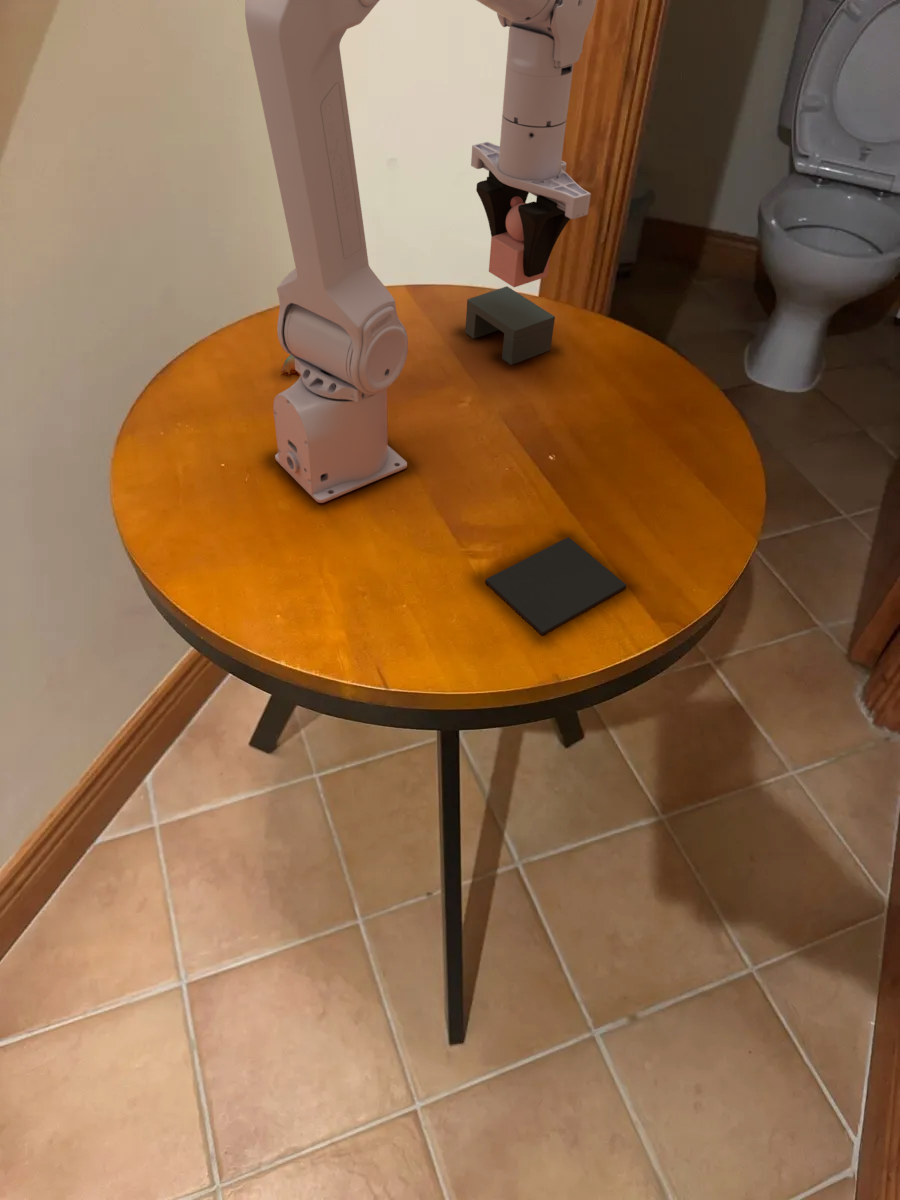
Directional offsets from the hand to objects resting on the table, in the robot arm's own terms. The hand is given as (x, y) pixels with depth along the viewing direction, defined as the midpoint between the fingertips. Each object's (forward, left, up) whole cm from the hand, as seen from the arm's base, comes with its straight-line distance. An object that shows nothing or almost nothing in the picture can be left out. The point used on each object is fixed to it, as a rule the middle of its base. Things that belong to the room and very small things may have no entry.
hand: (519, 264), depth 89 cm
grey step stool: (+2, +3, -10) cm, 11 cm away
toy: (0, 0, -1) cm, 1 cm away
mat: (-19, -29, -10) cm, 36 cm away
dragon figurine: (-18, +8, -10) cm, 22 cm away
